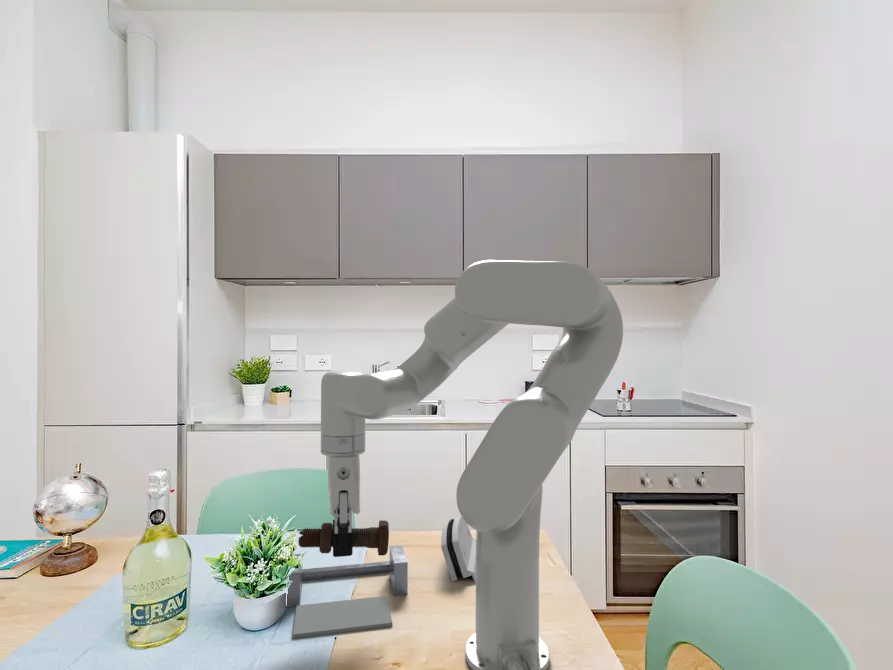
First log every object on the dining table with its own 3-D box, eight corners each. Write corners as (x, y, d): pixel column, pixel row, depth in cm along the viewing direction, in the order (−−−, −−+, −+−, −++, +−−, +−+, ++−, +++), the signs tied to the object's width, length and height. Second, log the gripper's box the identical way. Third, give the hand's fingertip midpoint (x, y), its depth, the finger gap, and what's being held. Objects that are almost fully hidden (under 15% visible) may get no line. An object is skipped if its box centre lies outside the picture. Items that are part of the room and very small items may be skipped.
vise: (407, 593, 97) (407, 562, 97) (285, 607, 92) (285, 573, 92) (399, 567, 108) (399, 538, 108) (290, 577, 103) (290, 548, 103)
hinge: (476, 582, 102) (459, 534, 102) (454, 589, 102) (437, 540, 103) (481, 547, 118) (466, 505, 119) (461, 553, 119) (447, 512, 119)
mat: (392, 626, 87) (392, 622, 87) (292, 638, 83) (292, 634, 83) (386, 598, 95) (386, 595, 95) (296, 608, 92) (296, 605, 92)
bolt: (298, 559, 88) (386, 558, 91) (296, 553, 84) (388, 552, 87) (301, 523, 92) (386, 523, 94) (300, 516, 88) (389, 516, 90)
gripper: (368, 453, 82) (367, 568, 82) (362, 432, 98) (361, 528, 98) (319, 456, 80) (318, 573, 80) (321, 434, 97) (321, 531, 97)
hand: (342, 547), depth 89 cm, fingers closed on bolt, 5 cm apart
